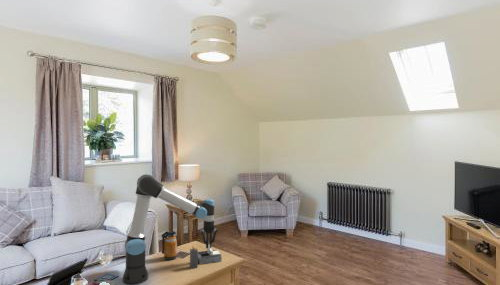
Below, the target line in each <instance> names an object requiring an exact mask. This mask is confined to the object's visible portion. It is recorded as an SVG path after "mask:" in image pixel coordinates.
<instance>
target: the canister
mask: <svg viewBox="0 0 500 285" xmlns="http://www.w3.org/2000/svg"><path fill="white" fill-rule="evenodd" d="M176 234H177V232H176V231H174V230H172V231H165V232H164V233H162V234H161V238H162V239H161V240H162V241H161V243H162V250H161V254H162V255H164V256H163V258H164V260H169V261H172V260H174V259H176V258H177V257H178V256H177V254H178V251H177V250H178V249H177V248H178V240H177V237H176Z"/></svg>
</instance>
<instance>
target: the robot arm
mask: <svg viewBox="0 0 500 285" xmlns="http://www.w3.org/2000/svg"><path fill="white" fill-rule="evenodd" d="M135 195H136V196H137V197H136V202H135V205H134V206H135V207H134V212H133V218H132V222H131V227H130V231H129V232H128V233H127V235H126V240H125V242H124V248H125V269H124V271H123V272H124V273H123V275H122V282H123V283H124V284H125V285H138V284H141V283H144V282H146V281H147V280H148V278H149V273H148V270H147V266H146V249H147V246H146V236H147V235H146V234H145V229H146V223H147V219H148V212H149V209H150V203H151V198H154V199H158V198H159V199H161V200H162V201H164V202H165V203H168V204H171V205H173V206H174V207H176V208H178V209H180V210H183V211H184V212H186V213H187V214H189V215H192V216H195V217H196V218H197V219H200V220H202V219H203V228H202V229H201V230H199V232H200V233H201V238H202V243H203V244H205V248H206V251H207V252H208V253H210V248H211V249H212V244H213V243H215V239H216V235H217V232H218V228H215V206H216V205H215V200H214V199H212V198H206V199H204V200H203V202H194V201H192V200H190V199H188V198H186V197H184V196H183V195H180V194H178V193H177V192H174V191H173V190H171V189H169V188H166V187H165V186H164V184H162V183H160V182H159V181H157V179H156V178H155V177H154V176H152V175H151V174H142V175H140V176H139V177H138V179H137V180H136V190H135ZM204 232H205V233H204Z"/></svg>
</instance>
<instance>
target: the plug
mask: <svg viewBox="0 0 500 285" xmlns="http://www.w3.org/2000/svg"><path fill="white" fill-rule="evenodd" d="M198 252H199V251H198V249H197V248H196V246H195V245H192V248H190V249H189V268H190V269H197V268H198V266H199V265H198V263H199V262H198Z"/></svg>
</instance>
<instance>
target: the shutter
mask: <svg viewBox="0 0 500 285" xmlns="http://www.w3.org/2000/svg"><path fill="white" fill-rule="evenodd" d="M213 250H214V249H212V247H211V248H210V253H209V254H210V255H211V256H212V255H219V254H221V252H219V250H218V249H216V250H217V251H213Z"/></svg>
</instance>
